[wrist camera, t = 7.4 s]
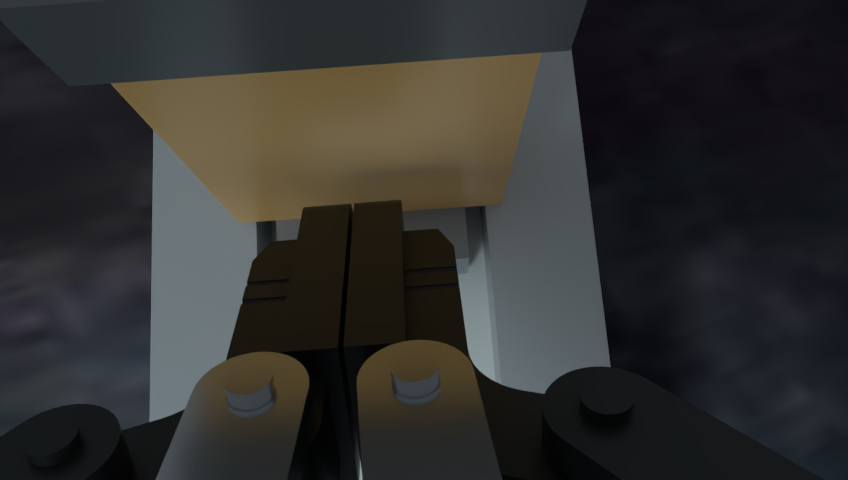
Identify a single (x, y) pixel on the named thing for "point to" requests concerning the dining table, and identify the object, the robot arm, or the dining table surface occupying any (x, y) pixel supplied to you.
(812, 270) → the dining table surface
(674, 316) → the dining table surface
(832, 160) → the dining table surface
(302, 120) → the breaker lever
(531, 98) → the base
